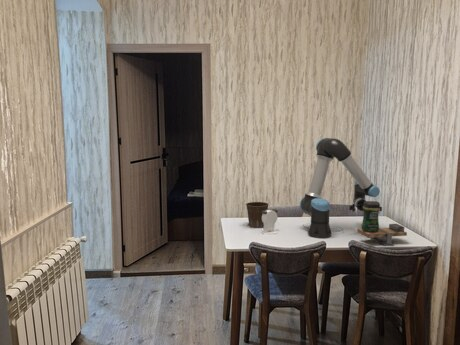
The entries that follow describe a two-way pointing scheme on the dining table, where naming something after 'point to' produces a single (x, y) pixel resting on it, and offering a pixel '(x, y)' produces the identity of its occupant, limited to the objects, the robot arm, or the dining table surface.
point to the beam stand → (384, 240)
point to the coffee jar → (371, 216)
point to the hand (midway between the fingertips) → (367, 211)
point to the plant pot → (256, 213)
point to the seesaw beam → (385, 231)
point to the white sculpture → (269, 221)
